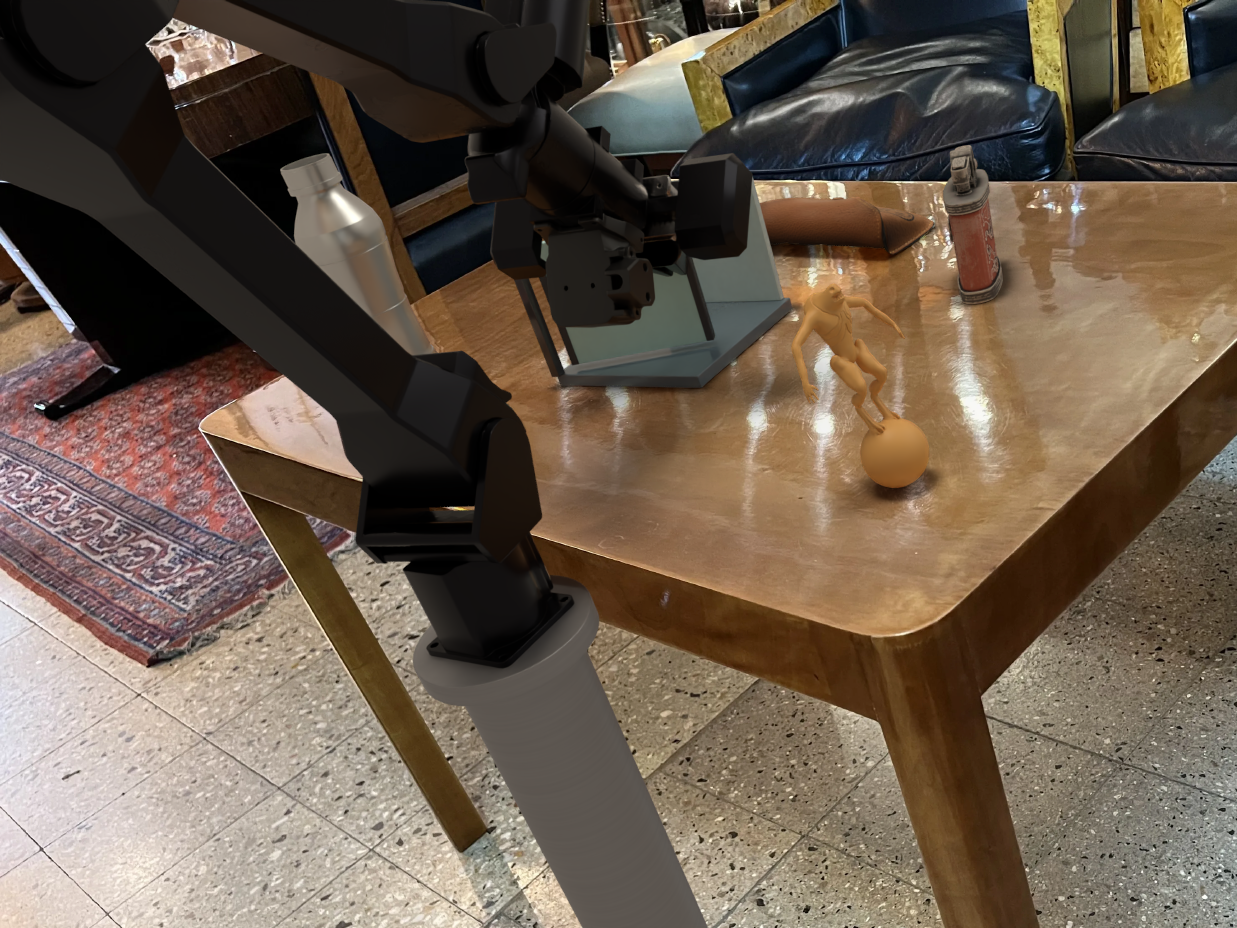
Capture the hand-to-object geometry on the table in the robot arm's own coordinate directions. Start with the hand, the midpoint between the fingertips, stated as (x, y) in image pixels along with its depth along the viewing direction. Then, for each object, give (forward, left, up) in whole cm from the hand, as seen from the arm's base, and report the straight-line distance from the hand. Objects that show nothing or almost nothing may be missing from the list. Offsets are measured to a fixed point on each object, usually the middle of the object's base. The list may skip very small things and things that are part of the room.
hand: (678, 269), depth 88 cm
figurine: (-16, -24, -7) cm, 29 cm away
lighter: (+13, -18, -7) cm, 23 cm away
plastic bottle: (-10, +22, -7) cm, 26 cm away
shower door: (-1, +5, -6) cm, 8 cm away
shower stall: (+2, +4, -7) cm, 9 cm away
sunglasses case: (+24, +1, -7) cm, 26 cm away
